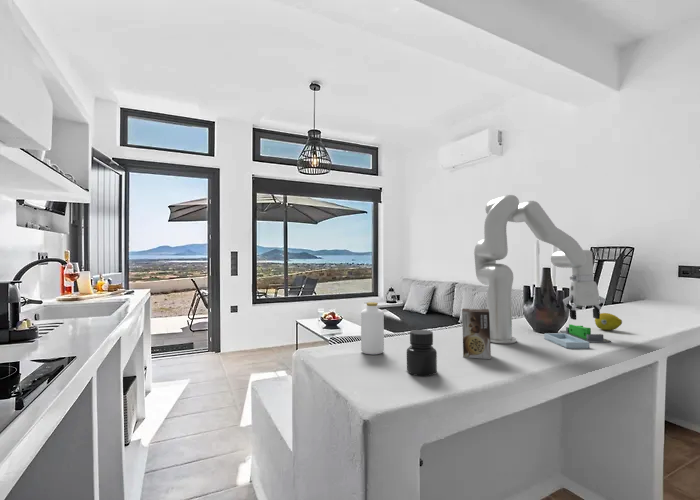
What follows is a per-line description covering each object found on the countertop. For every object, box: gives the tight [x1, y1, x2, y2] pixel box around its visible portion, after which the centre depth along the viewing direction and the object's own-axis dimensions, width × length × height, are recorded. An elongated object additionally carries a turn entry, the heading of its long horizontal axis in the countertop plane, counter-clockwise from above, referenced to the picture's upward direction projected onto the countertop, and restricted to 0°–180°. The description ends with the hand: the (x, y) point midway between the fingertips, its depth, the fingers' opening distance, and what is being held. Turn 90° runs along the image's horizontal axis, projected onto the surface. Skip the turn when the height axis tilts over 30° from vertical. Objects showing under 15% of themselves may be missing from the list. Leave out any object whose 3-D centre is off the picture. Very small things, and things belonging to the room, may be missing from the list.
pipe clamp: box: [568, 324, 592, 339], centre depth 150 cm, size 11×4×5 cm, turn 3°
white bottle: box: [360, 301, 385, 356], centre depth 129 cm, size 8×8×18 cm
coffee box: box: [461, 308, 492, 360], centre depth 123 cm, size 9×6×16 cm
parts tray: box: [543, 332, 591, 349], centre depth 139 cm, size 9×16×2 cm, turn 179°
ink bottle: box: [406, 329, 438, 377], centre depth 106 cm, size 10×9×12 cm
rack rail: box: [559, 326, 612, 344], centre depth 150 cm, size 9×20×3 cm, turn 178°
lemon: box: [594, 312, 623, 332], centre depth 163 cm, size 11×8×8 cm
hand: (584, 318), depth 150 cm, fingers open, 9 cm apart
